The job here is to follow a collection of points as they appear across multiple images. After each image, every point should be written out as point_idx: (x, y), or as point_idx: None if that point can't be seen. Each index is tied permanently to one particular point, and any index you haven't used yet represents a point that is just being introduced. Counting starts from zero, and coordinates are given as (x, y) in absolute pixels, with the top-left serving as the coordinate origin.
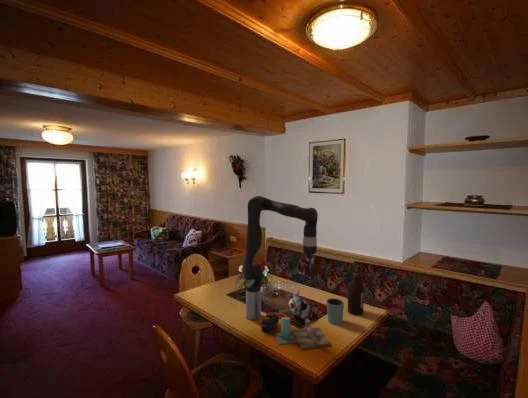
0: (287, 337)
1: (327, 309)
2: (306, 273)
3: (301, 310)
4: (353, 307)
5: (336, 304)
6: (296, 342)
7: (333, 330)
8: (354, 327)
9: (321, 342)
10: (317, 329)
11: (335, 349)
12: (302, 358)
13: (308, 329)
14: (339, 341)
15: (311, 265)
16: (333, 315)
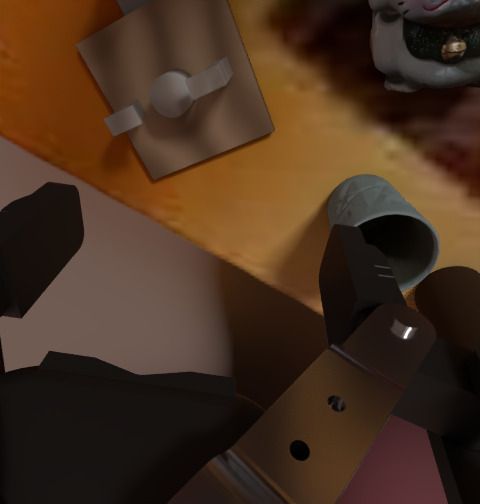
0: None
1: (371, 196)
2: (33, 199)
3: (404, 19)
4: (430, 304)
5: (412, 249)
6: (124, 12)
7: (276, 193)
8: (312, 270)
9: (147, 142)
10: (252, 124)
11: (138, 191)
12: (22, 55)
13: (165, 84)
14: (196, 209)
15: (333, 328)
16: (333, 216)
